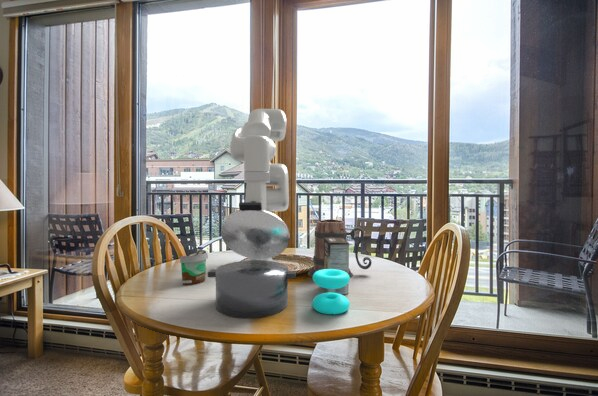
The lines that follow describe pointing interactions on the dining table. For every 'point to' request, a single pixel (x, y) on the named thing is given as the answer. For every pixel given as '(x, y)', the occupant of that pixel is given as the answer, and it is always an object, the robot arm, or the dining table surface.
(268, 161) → the robot arm
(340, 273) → the donuts
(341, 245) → the coffee box
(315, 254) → the tankard
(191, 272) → the food container
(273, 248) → the pot lid
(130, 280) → the dining table surface
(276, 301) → the cooking pot
